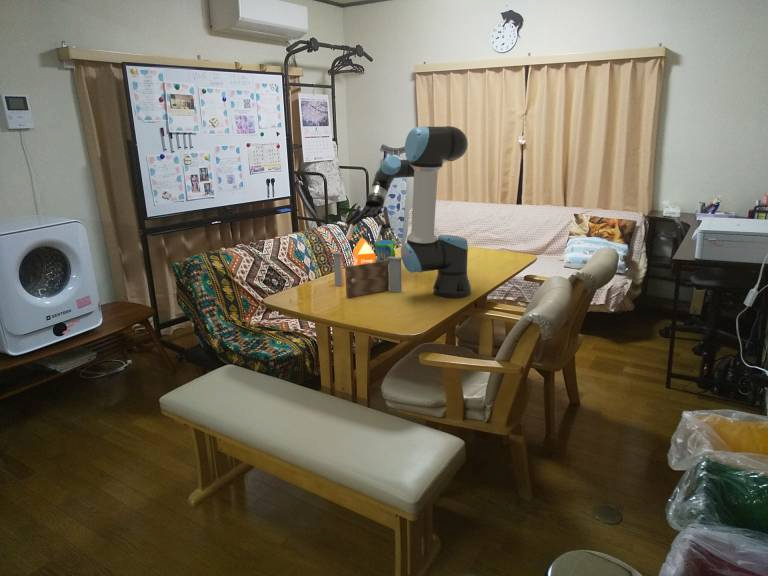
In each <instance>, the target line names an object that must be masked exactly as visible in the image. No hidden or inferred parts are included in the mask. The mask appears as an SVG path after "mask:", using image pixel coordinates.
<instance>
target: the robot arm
mask: <svg viewBox="0 0 768 576" xmlns="http://www.w3.org/2000/svg"><path fill="white" fill-rule="evenodd" d="M404 142H405V143H404V153H405V158H406V159H400V158H399V157H398V156H396V155H387V156H386V157H385V158H384V159H383V161H382V162H381V165H380V167H379V168H378V169H377V170H376V172H375V174H374V178H373V181H372V184H371V187H370V189H369V193H368V195H367V198H366V201H365V206H364V207H361V205H357V207H356V209H355V210H354V212H353V213H351V215H349V217H348V218H347V219H346V220H345V224H346V226H347V228H346V234H345V235H346V236H345V237H346V239H347V241H350V240H351V238H352V235H353V233H354V230H355V226H356V225H358V224H360V223H361V222H362V221H363V220H364V219H367V218H370V219H371V218H372V219H375V218H376V219H377V220H378V222H379V224H380V225H379V227H378V229H377V232H376V235H375V236H376V237H375V240H376V241H377V242H379V241H380V240H381V238H382V236H384V234H385V231H386V229H390V228H391V223H390V219H389V209H388V207H387V206H384V204H385V201H386V198H387V196H388V195H387V194H388V192H389V189H390V187H391V184H392V183H393V181H394V179H400V178H401V179H402V178H413V189H412V208H411V210H412V211H411V232H410V234H408V235H407V236H406V242H404V243H402V244H401V247H400V257H401V262H402V264H403V266H404V268H405V269H406V270H407V272H408V273H409V272H410V273H413V274H414V273H419V274H420V273H425V272H433V271H437V276H436V278H435V281H434V284H433V290H432V291H433V292H432V293H433V295H435V296H437V297H440V298H444V299H445V298H447V299H460V298H461V299H462V298H466V297H468V296H470V295H471V294H472V285H471V283H470V280H469V277H468V257H469V255H468V253H469V252H468V251H469V246H468V245H469V243H468V240H467V239H466V238H464V237H462V236H458V235H451V234H439V235H438V236H437V235H435V222H436V209H437V206H436V205H437V191H438V190H437V189H438V174H439V170H441V168H442V167H443V164H445V163H447V162H454V161H456V160H459V159H460V158H461V157H463V156H464V155H465V153H466V152H467V149H468V147H469V146H468V144H469V143H468V137H467V136H466V134H465V132H463V131H462V130H461V129H460V128H458V127H455V126H451V125H449V126H448V125H447V126H427V125H426V126H425V125H424V126H417V127H414V128H412V129H410V130H409V132H408V133H407V136H406V139H405V141H404ZM380 214H383V216H384V220H383V219H382V218H381V215H380ZM384 221H385V223H384Z"/></svg>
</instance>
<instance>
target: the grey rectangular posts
mask: <svg viewBox="0 0 768 576" xmlns="http://www.w3.org/2000/svg"><path fill="white" fill-rule="evenodd" d="M343 256H344V252H340V251H335V252H333V253H332V257H333V271H334V286H335V285H336V286H335V287H342V285H343V286H344V270H343V269H344V268H343ZM387 261H389V263H388V270H389V292H391V293H398V292H400V293H401V292H402V258H401V256H400V257H399V256H395V257H388V258H387Z"/></svg>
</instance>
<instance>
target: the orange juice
mask: <svg viewBox="0 0 768 576" xmlns="http://www.w3.org/2000/svg"><path fill="white" fill-rule="evenodd" d="M374 251H375V250H373V249H372V248H371V246H370V245H369V244H368V242H367V241H366V239H364V238H363V237H360V239H359V241H357V243H356V245H355V246H354V248H353V250H352V253H353V254H352V255H353V257H352V259H353V265H359V264H365V263H372V262H376V252H374Z"/></svg>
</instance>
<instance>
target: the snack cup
mask: <svg viewBox="0 0 768 576" xmlns="http://www.w3.org/2000/svg"><path fill="white" fill-rule="evenodd" d="M396 244H397V243H396V241H394V240H393V239H391V240H390V239H389V240H388V239H380V241H379V242H377V241H374V243H373V245H374V249H375V250H374V251H375V252H374V253H375V255H376V258H377V262H378V261H385V260H387V258H388V257H396V252H395V246H396ZM388 264H389V261H388Z"/></svg>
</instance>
